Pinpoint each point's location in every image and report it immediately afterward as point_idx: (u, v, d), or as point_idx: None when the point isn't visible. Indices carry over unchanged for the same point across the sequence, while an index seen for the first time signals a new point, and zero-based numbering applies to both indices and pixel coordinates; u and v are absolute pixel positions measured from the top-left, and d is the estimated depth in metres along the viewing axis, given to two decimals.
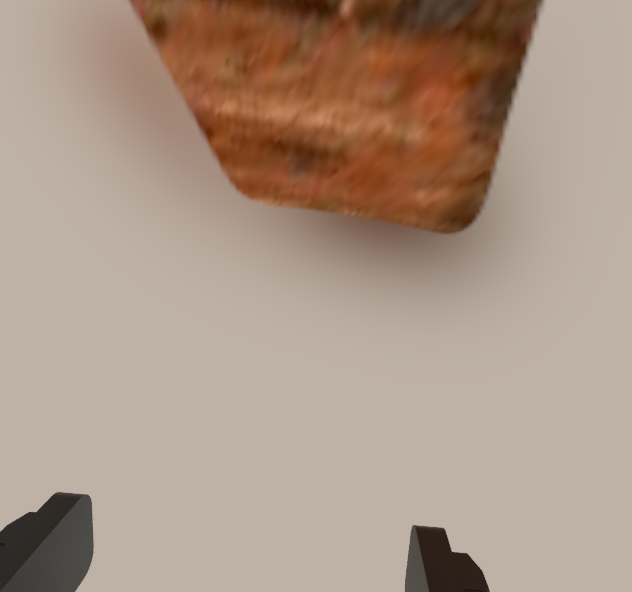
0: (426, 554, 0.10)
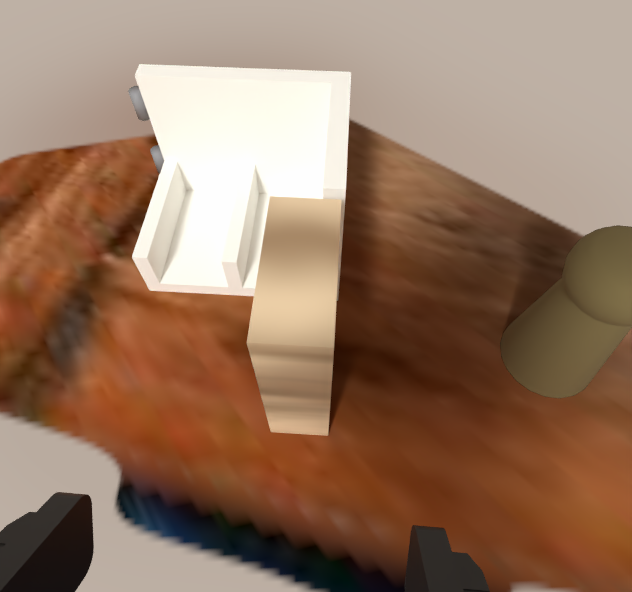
0: (426, 554, 0.10)
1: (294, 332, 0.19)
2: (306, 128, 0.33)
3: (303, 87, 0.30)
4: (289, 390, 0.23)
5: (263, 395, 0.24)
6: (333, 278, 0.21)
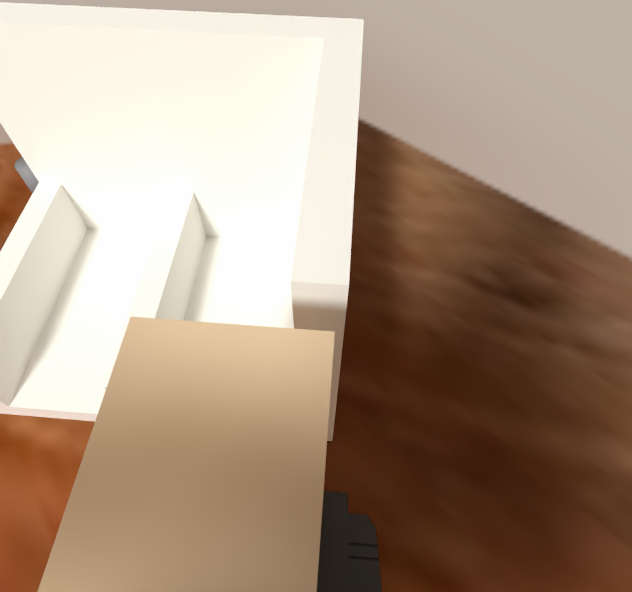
0: (323, 513, 0.11)
1: None
2: (278, 130, 0.18)
3: (267, 47, 0.15)
4: None
5: None
6: None
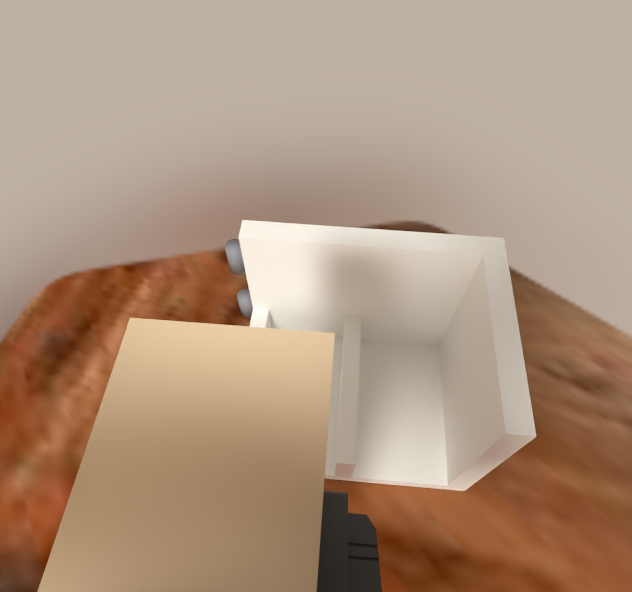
0: (323, 513, 0.11)
1: None
2: (435, 290, 0.27)
3: (445, 256, 0.25)
4: None
5: None
6: None
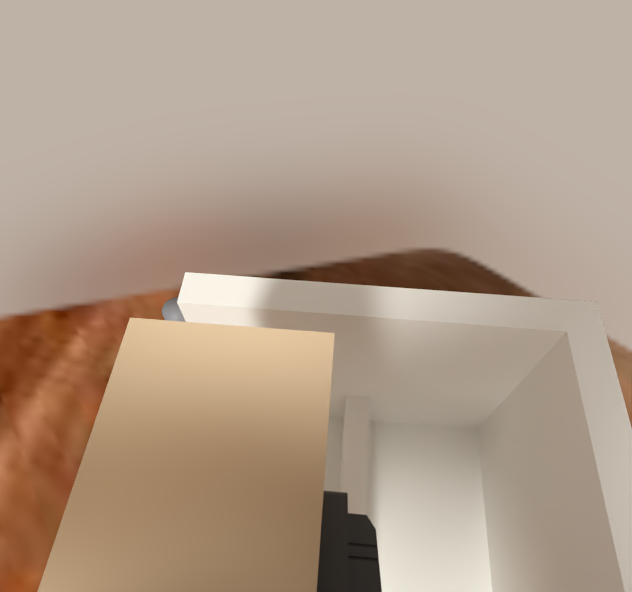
0: (323, 513, 0.11)
1: None
2: (482, 372, 0.18)
3: (505, 332, 0.16)
4: None
5: None
6: None
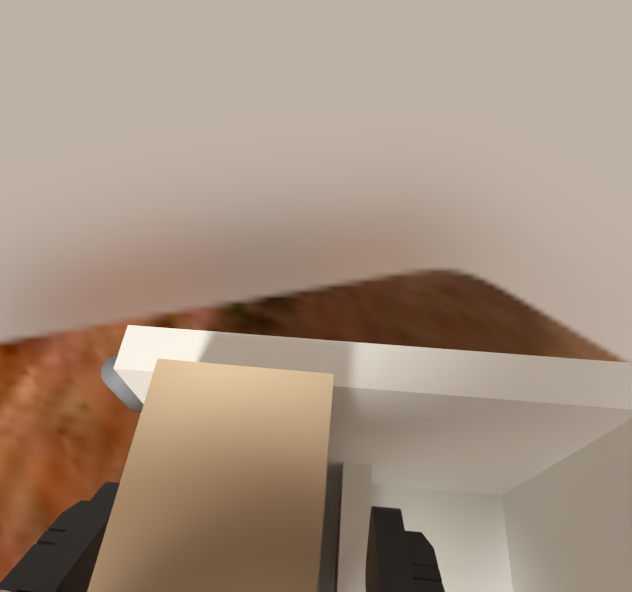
0: (380, 531, 0.11)
1: None
2: (518, 447, 0.14)
3: (558, 409, 0.11)
4: None
5: None
6: None
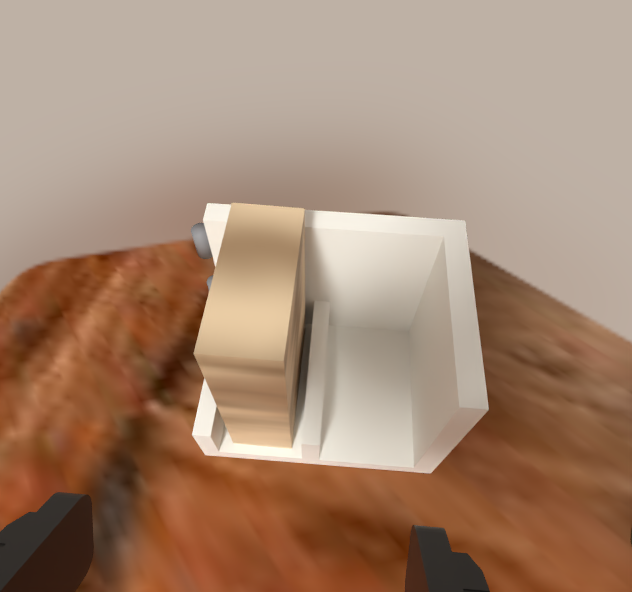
0: (426, 554, 0.10)
1: (244, 344, 0.19)
2: (401, 274, 0.28)
3: (408, 239, 0.25)
4: (245, 403, 0.23)
5: (219, 406, 0.23)
6: (289, 289, 0.20)
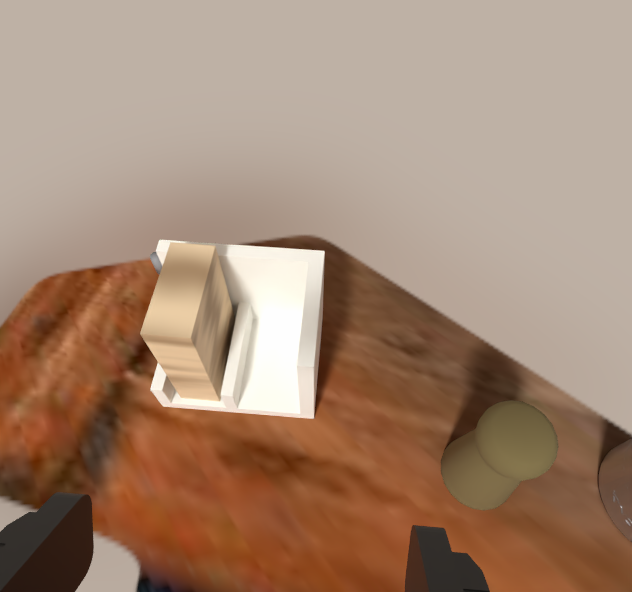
0: (426, 554, 0.10)
1: (169, 328, 0.33)
2: (290, 284, 0.42)
3: (286, 262, 0.39)
4: (178, 366, 0.37)
5: (164, 369, 0.38)
6: (199, 296, 0.34)
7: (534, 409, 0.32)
